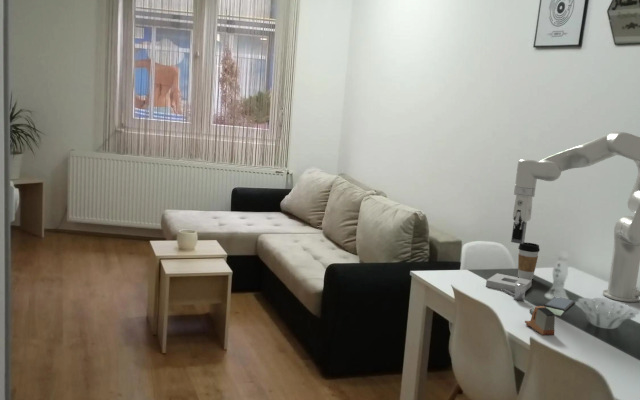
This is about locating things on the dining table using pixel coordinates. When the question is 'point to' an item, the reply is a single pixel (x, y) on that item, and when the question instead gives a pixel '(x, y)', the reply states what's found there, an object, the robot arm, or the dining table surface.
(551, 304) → the phone
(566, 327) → the dining table surface
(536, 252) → the coffee cup
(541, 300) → the dining table surface
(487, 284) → the plate
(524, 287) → the plug
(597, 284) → the dining table surface
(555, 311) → the pad
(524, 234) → the charger
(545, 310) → the electronic device
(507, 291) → the cable
